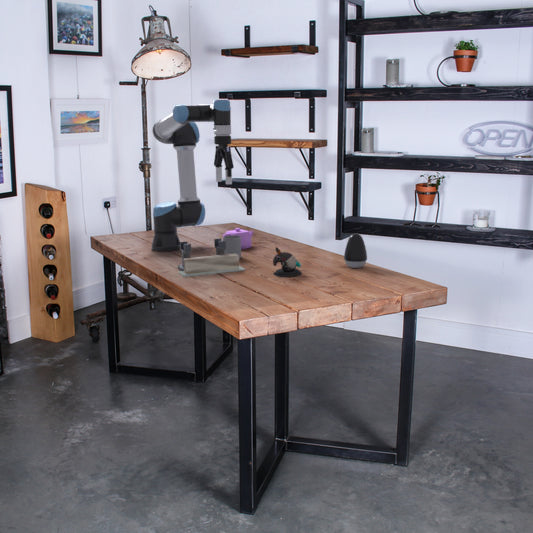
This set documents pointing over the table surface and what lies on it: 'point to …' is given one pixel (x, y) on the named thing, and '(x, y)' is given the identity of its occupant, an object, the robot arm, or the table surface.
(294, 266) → the figurine
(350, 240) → the black speaker
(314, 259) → the table surface
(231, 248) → the cup
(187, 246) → the rack
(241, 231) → the teapot
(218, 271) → the mat
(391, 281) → the table surface
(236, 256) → the rail
